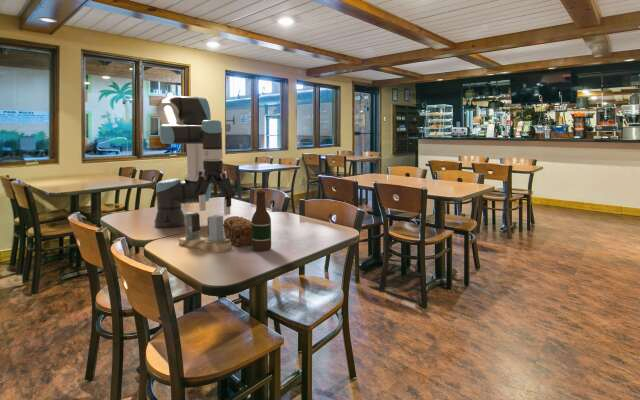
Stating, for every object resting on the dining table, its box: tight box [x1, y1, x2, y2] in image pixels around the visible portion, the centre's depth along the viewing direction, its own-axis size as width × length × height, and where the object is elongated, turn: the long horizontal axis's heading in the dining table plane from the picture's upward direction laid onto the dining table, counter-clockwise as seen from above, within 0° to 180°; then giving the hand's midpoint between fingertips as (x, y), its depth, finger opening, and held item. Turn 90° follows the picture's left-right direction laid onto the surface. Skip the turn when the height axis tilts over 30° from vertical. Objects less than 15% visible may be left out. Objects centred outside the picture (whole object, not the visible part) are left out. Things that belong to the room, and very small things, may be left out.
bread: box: [223, 215, 252, 247], centre depth 175 cm, size 19×11×10 cm, turn 29°
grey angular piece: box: [178, 211, 232, 253], centre depth 166 cm, size 23×7×14 cm, turn 60°
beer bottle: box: [251, 190, 272, 253], centre depth 161 cm, size 8×8×24 cm
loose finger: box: [206, 214, 225, 243], centre depth 162 cm, size 5×4×11 cm
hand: (214, 212), depth 162 cm, fingers open, 13 cm apart
